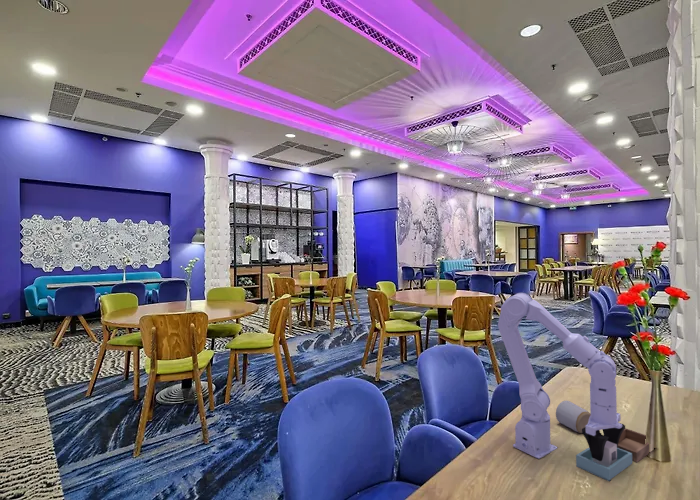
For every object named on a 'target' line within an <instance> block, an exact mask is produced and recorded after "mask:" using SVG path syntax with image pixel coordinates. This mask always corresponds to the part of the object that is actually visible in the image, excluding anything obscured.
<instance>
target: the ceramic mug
mask: <svg viewBox="0 0 700 500" xmlns="http://www.w3.org/2000/svg"><path fill="white" fill-rule="evenodd" d="M590 416H591V413H590V411H588V410H586V409H585V408H582V407H580V406H579V405H577V404H576V403H573V402H572V401H570V400H563V401H561V402H560V403H559V404H558V406H556V410H555V418H556V420H557V422H558V423H559V424H561V425H563V426H565V427H567V428H569V429H570V430H573V431H574V432H576V433H579V434H582V429H583V428H585V427H586V425H587V424H588V421H589V417H590Z"/></svg>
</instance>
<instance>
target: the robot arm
mask: <svg viewBox="0 0 700 500" xmlns="http://www.w3.org/2000/svg"><path fill="white" fill-rule="evenodd" d="M525 316H526V317H525ZM524 317H525V320H529V321H536V322H538V323H539V324H541V325H542V326H543V327H545V328H546V329H547V330H548V331H549V332H551V333H552V334H553V335H554V336H556V338H558V339H559V340H561V341H562V346H563V350H565V351H566V352H567V353H568V354H569V355H570V356H571V357H572V358H574V359H575V360H577V362H579V364H581V365H582V366H583V367H584V368H586V369H588V370H587V371H588V374H589V375H590V383H589V400H590V401H589V403H590V404H589V407H590V409H589V410H590V411H589V413H590V414H591V416H590V417H589V421H588V424H587V425H586V427H585V428H583V429H582V433H581V434H582V436H584V438H585V441H586V443H587V444H588V445H587V446H588V448H590V452H591V455H592V458H594V459H596V460H599V461H602V459H603V454H604V447H605V444H606V441H609V442H612V443H614V444H617V446H618V442H619V439H620V436H621V434H622V432H623V431H624V429H625V428H626V425H625V424H623V423H620V422H621V419H622V417H621V413H618V412H617V411H618V409H617V407H618V406H617V403H618V401H617V385H616V378H617V366H616V362H615V360H614V359H612V357H611V356H610V355H608V354H606V353H605V351H603V350H599V349H598V348H596V347H595V345H593V344H592V343H591V342H590V341H589V340H590V339H589V337H587V336H586V335H581V334H580V333H574V332H573V333H572V332H571V331H570V330H569V329H568V328H566V326H564V324H562V322H560V321H559V320H558V319H557V318H556V317H554V315H553V314H552V313H551V312H549V311H548V310H547V309H546V308H545V306H543V305H541V303H539V301H537V300H536V299H533V298H532V297H531V296H530V295H529V294H528V293H525V292H518V293H515V294H514V295H512V296H509V297H507V298H506V300H504V302H503V304H502V305H501V306H500V315H499V317H498V318H499V319H498V322H497V323H498V324H497V328H498V331H499V333H500V336H501V338H502V342H503V344H504V346H505V350H506V352H507V355H508V358H509V361H510V363H511V366H512V369H513V372H514V374H515V378H516V380H517V382H518V387H519V388H518V389H519V397H520V410H521V418H520V419H519V421H517V423H516V424H515V428H514V430H515V433H514V434H515V443H514V444H512V447H513V448H515V449H518V450H520V451H521V452H523V453H525V454H527V455H530V456H532V457H534V458H536V459H542V458H543V457H545V456H547V455H549V454H550V453H552V452H553V451H555V450H557V449H558V446H556V445H554V444H551V416H550V414H549V412H548V408H549V407H550V405H551V397H550V396H549V394H548V393H547V392H546V390H544V388H543V386H542V383H540V381H538V379H537V377H536V374H535V372H534V368H533V366H532V363H531V359H530V358H529V355H528V353H527V352H528V351H527V350H526V348H525V344H524V342H523V339H522V336H521V334H520V331H519V328H518V327H519V325H520V323H521V321H522V320H523V318H524ZM601 431H602V432H601ZM602 433H603V434H602Z"/></svg>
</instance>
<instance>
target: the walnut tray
mask: <svg viewBox="0 0 700 500" xmlns="http://www.w3.org/2000/svg"><path fill="white" fill-rule="evenodd" d="M646 435H647V434H644V433H640V432H637V431H634V430H632V429H629V428H626V427H625V429H624V431H623V432H622V434H621V436H620V439H619V442H618V446H617V448H620V449H622V450H625V451H627V452H630V453H632V462H634V463H639V462H640V461H641V460H643V459H644V458H645V457H646V456H648V455H649V454H650V453H649V443H648V442H647V443H646V444H645V439H646ZM648 453H649V454H648Z"/></svg>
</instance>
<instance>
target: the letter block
mask: <svg viewBox="0 0 700 500" xmlns="http://www.w3.org/2000/svg"><path fill="white" fill-rule="evenodd" d="M593 461H594V462H596V463H599V464H601V465H603V466H606V467H609V466H610V465H612V464H613V463H615V462H616V461H617V444H614V443H612V442H609V441H606V444H605V447H604V454H603V459H602V461H599V460H596V459H594V458H593Z"/></svg>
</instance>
